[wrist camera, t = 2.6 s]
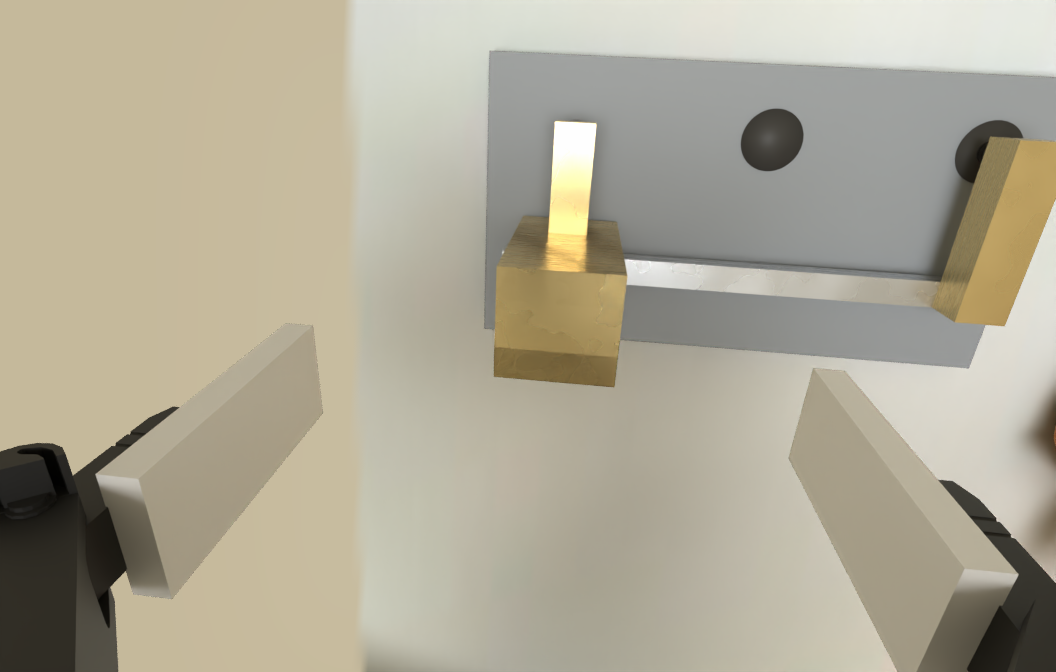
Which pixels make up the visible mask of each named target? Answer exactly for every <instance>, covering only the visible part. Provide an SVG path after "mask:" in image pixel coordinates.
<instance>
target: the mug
mask: <svg viewBox="0 0 1056 672" xmlns="http://www.w3.org/2000/svg"><path fill="white" fill-rule="evenodd" d="M1053 436H1054V442H1055V448H1056V426H1055V431H1054V435H1053Z"/></svg>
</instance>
